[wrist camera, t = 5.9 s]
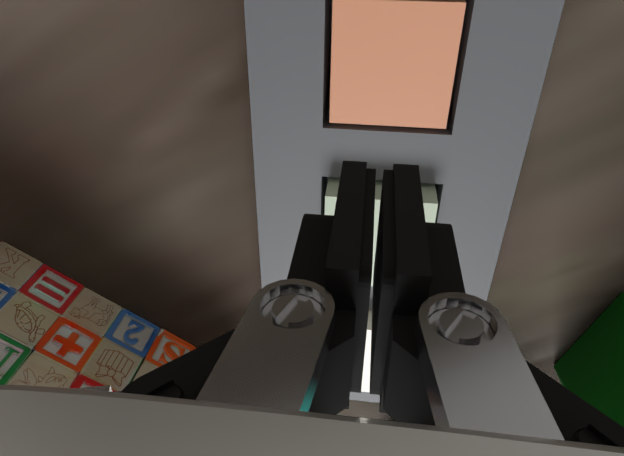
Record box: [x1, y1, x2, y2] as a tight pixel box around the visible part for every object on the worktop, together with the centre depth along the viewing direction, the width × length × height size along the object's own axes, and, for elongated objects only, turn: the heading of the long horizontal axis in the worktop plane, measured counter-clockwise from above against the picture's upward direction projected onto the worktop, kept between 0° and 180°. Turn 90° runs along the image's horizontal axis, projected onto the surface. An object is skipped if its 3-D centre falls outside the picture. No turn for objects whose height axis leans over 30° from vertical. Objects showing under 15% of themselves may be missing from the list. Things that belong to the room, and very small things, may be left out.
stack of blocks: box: [0, 241, 196, 392], centre depth 33 cm, size 21×6×12 cm, turn 56°
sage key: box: [325, 177, 438, 287], centre depth 25 cm, size 5×5×3 cm
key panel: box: [244, 0, 565, 403], centre depth 27 cm, size 26×12×4 cm, turn 0°
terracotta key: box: [329, 0, 466, 129], centre depth 22 cm, size 5×5×3 cm
